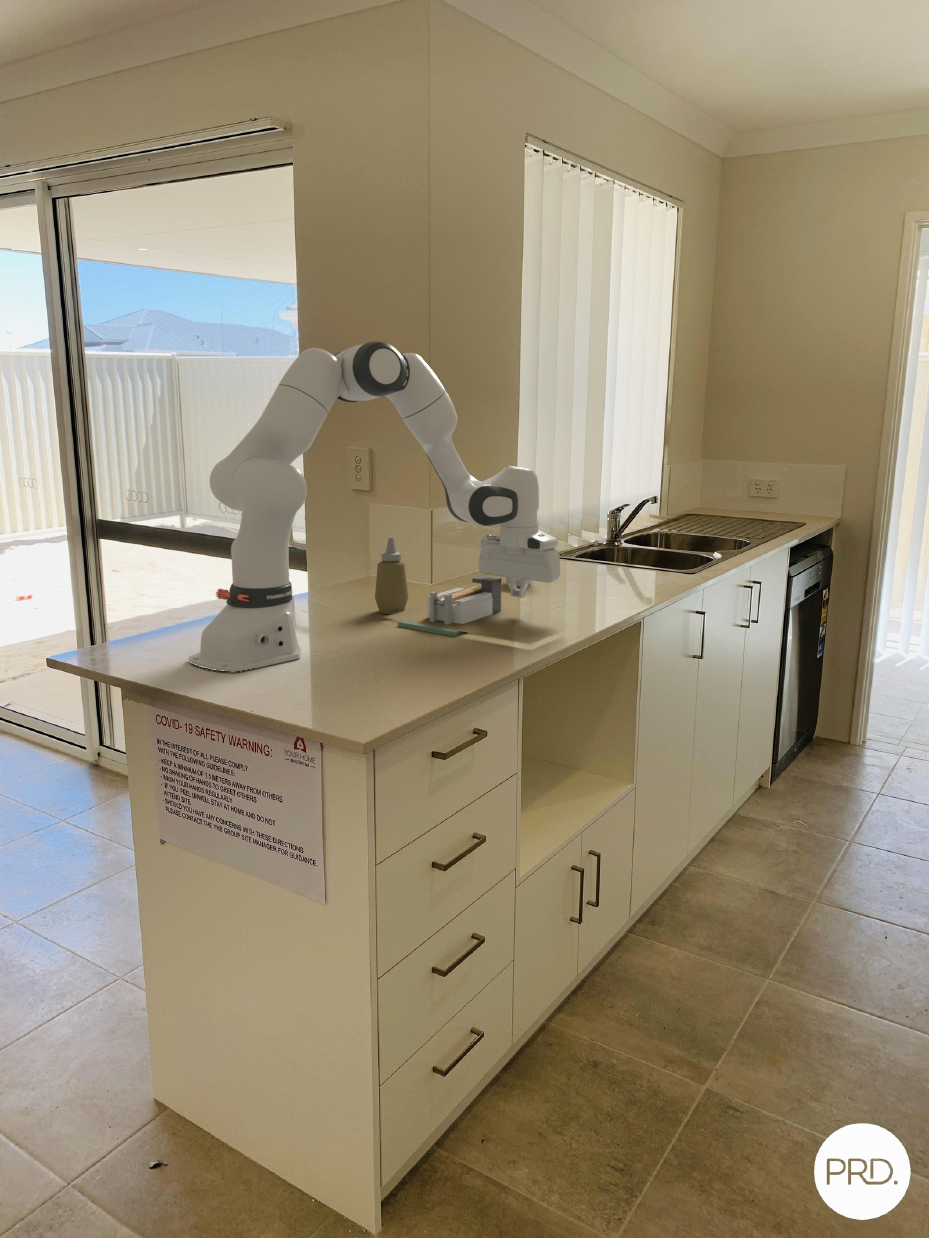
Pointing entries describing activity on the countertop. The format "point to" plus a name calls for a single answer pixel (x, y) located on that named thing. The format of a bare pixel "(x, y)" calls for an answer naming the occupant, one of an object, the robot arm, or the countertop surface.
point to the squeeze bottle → (391, 581)
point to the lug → (491, 589)
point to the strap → (460, 595)
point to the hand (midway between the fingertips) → (517, 597)
